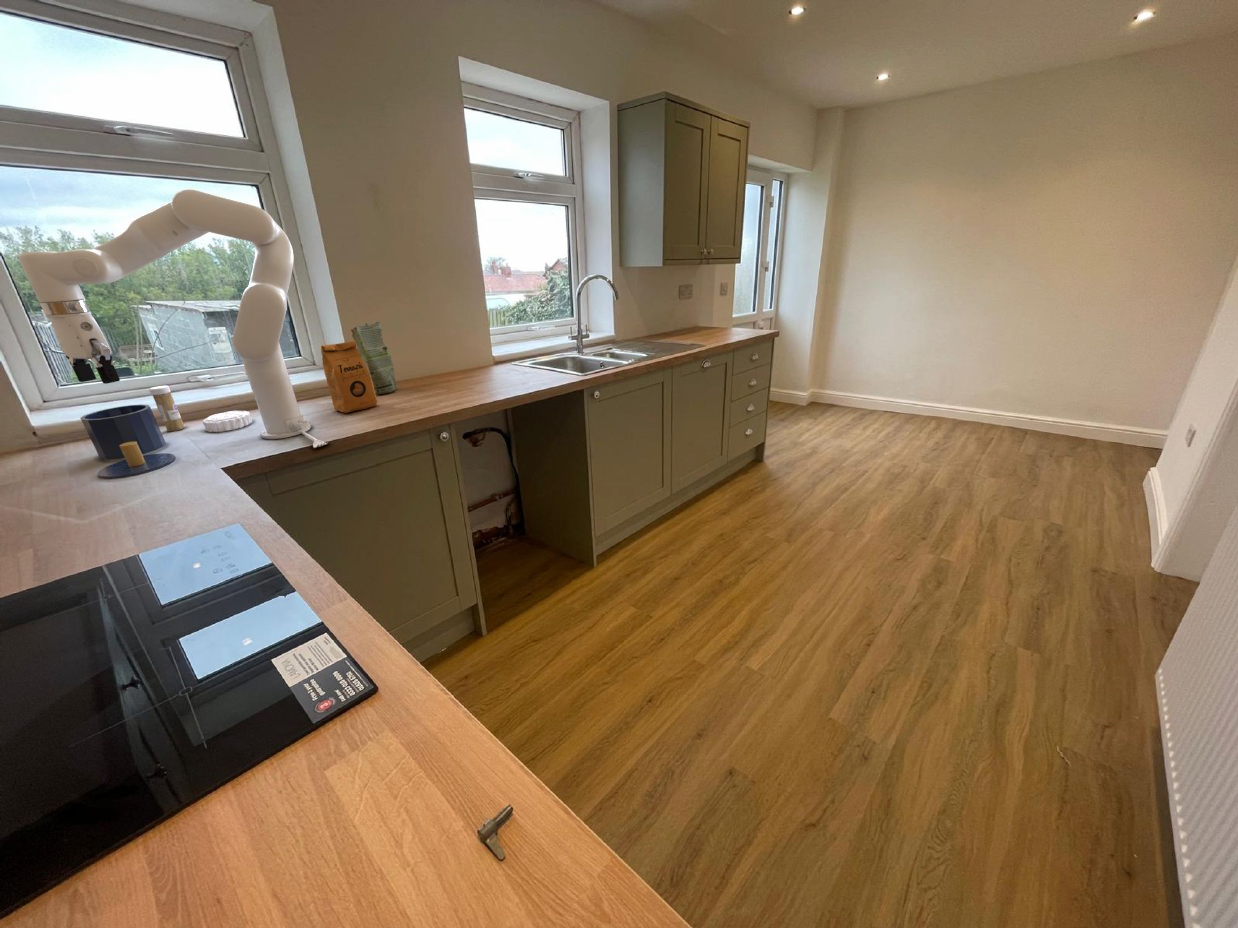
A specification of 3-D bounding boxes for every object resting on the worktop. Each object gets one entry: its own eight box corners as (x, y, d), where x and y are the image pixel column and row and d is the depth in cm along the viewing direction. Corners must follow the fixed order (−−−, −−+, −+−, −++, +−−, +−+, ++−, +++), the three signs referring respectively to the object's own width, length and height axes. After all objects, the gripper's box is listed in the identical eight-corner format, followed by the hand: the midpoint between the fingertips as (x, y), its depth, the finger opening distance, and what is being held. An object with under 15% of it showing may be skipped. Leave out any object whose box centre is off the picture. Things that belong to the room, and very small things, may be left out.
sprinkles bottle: (184, 429, 155) (167, 387, 149) (165, 432, 153) (147, 389, 147) (186, 425, 158) (169, 384, 153) (168, 429, 156) (150, 386, 151)
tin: (177, 444, 141) (161, 405, 137) (121, 463, 130) (101, 421, 125) (146, 441, 146) (129, 403, 141) (88, 459, 134) (67, 418, 129)
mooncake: (197, 430, 153) (192, 419, 152) (236, 418, 163) (233, 408, 162) (222, 434, 149) (217, 422, 147) (261, 421, 159) (257, 410, 158)
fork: (309, 432, 147) (307, 426, 146) (331, 447, 134) (329, 441, 133) (296, 435, 145) (294, 429, 144) (318, 451, 132) (316, 445, 131)
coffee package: (382, 406, 168) (366, 340, 160) (343, 416, 160) (324, 347, 152) (369, 402, 175) (353, 338, 166) (332, 411, 167) (313, 344, 158)
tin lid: (190, 459, 130) (180, 435, 127) (124, 483, 117) (111, 457, 115) (152, 455, 134) (142, 431, 132) (85, 477, 122) (72, 452, 119)
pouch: (367, 397, 181) (349, 326, 171) (366, 390, 191) (349, 323, 181) (400, 392, 185) (384, 323, 176) (397, 386, 195) (382, 320, 185)
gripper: (108, 307, 117) (139, 379, 124) (66, 307, 123) (97, 376, 129) (67, 311, 110) (102, 387, 117) (24, 311, 116) (60, 383, 123)
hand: (99, 381), depth 123 cm, fingers open, 9 cm apart
